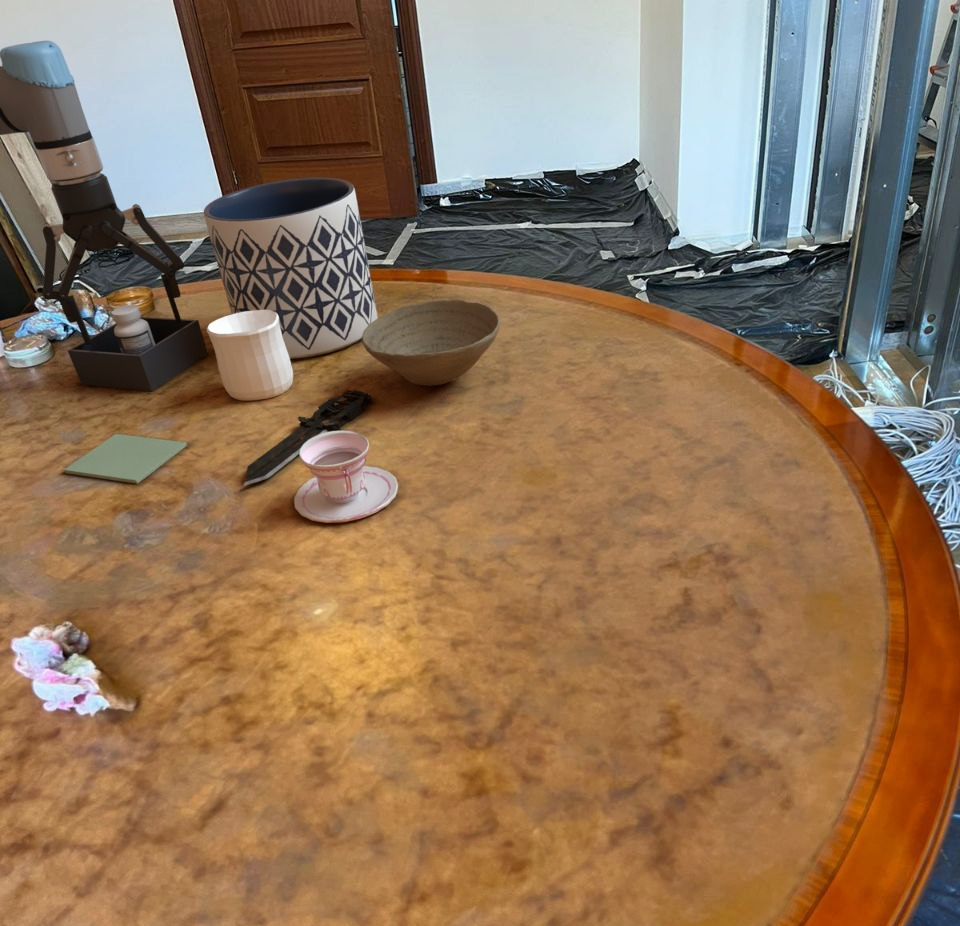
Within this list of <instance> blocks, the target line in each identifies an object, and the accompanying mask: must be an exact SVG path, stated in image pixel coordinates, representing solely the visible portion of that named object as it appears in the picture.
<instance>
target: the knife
mask: <svg viewBox="0 0 960 926" xmlns="http://www.w3.org/2000/svg"><path fill="white" fill-rule="evenodd" d="M342 398H343V399H344V400H341V399H342ZM372 401H373V399H372V394H369V393H368V392H365V391H363V390H359V389H352V390H344V391H343V392H342V393H341V394H339V395H337V396H335V397H331V398H328V399H327V400H325V401H324V402H322V404H320V405H318V407H317V408H318V409H316V410H314V412H313V414H312V415H311V417H305V416H298V417H297V420H298V422H300V423H299V427H298V428H297V429H295V430H294V431H293V432H292V433H290V434H289V435H287V436H286V437H285V438H283V439H281V441H279V442H278V443H277V444H275V445H274V446H273V447H272V448H270V449H269V450H267V451H266V452H265V453H263V454H262V455H261V456H259V457H258V458H257V459H255V460H254V461H252V463H250V464H248V465H247V467H246V473H245V479H247V480H245V481H244V483H243V485H242V486H243V487H245V486H249V485H251V484H254V483H258V482H261V481H263V480H267V479H270V477H272V476H273V475H274V474H276V473H277V472H278V471H279V470H280V469H282V468H283V467H284V466H285V465H287V464H288V463H289V462H291V461H292V460H294V459H295V458H296V457H297V456H298V455H299V452H300V449H301V447H302V446H303V444H304V443H305V442H307V441H308V440H309V439H311V438H313V437H315V436H317V435H319V434H322V433H326V432H331V431H340V430H342V429H341V428H340V427H342V426H344V425H345V424H347V423H348V422H352V421H353V420H355V419H356V418H357V417H358V416H360V415H361V414H362V413H363V412H364V411H365V408H366V406H367V405H368V404H370V403H371V402H372ZM344 405H345V406H344ZM331 417H332V418H331ZM327 418H331V419H330V420H328V421H325V422H323V421H324V420H326V419H327ZM339 419H341V420H340V421H337V420H339Z"/></svg>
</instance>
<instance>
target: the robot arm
mask: <svg viewBox="0 0 960 926" xmlns="http://www.w3.org/2000/svg"><path fill="white" fill-rule="evenodd" d="M0 62H1V65H0V136H4V135H12V134H20V133H21V134H22V133H29V136H30V138H31V141H32V142H33V145H34V148H35V151H36V153H37V156H38V159H39V161H40V164H41V165H42V169H43V171H44V174H45V176H46V179H47V180H48V181H50V182H52V184H51V187H50V189H51V191H52V195H53V197H54V199H55V202H56V205H57V207H58V210H59V213H60V216H61V218H62V223H60V224H59V223H58V224H50V223H49V222H46V223H45V222H44V223H43V224H42V233H43V237H44V240H45V254H44V255H45V256H44V268H43V269H44V271H43V282H42V283H43V284H42V297H43V299H45V300H46V301H50V300H53V301H57V302H59V304H60V306H61V308H62V311H63V313H64V315H65V318H66V320H67V322H69V324H72V323H76V324H77V326H78V329H79V331H80V334H81V336H82V339H83V341H85V344H86V345H89V344H91V339H90V337H91V336H90V334H89V331H88V329H87V327H86V324H85V321H84V319H83V317H82V314H81V312H80V309H79V307H78V304H77V301H76V299H75V295H73V294H71V295H69V294H70V291H71V290H72V289H71V288H72V286H73V283H74V281H75V278H76V275H77V273H78V270H79V268H80V264H81V262H82V259H83V258H84V255H85V252H86V251H88V252H91V253H98V252H100V251H102V250H112V249H115V248H116V247H117V246H118V245H119V244H120V245H121V246H122V247H124V248H126V249H128V250H130V251H131V252H132V253H133V254H136V255H137V256H138V257H139V258H141V259H142V260H144V261H145V262H147V263H148V264H150V265H151V266H152V267H154V268H155V269H156V270H158V271H159V272H161V273H162V274H160V278H161V281H162V284H163V287H164V290H165V293H166V296H167V299H168V302H169V305H170V308H171V311H172V313H173V317H174V319H176V322H177V323H179V322H182V321H181V319H182V318H181V315H180V312H179V310H178V306H177V302H176V300H175V299H178V298H180V297H181V291H180V287H179V284H178V281H177V279H176V273H177V272H179V271H180V270H183V269H184V268H185V264H184V261H183V259H182V258H181V257H180V255H179V254H177V252H176V251H175V250H174V249H173V247H172V246H171V245H170V244H169V243H168V242H167V240H165V238H164V237H163V236H161V234H160V233H159V232H158V231H157V230H156V229H155V227H154V226H152V224H151V223H150V222H149V221H148V220H147V218H146V216H145V214H144V212H143V210H142V207H141V206H140V205H139V204H137V203H135V204H133V205H132V207H130V208H127V209H124V210H122V209H120V207H118V205H117V202H116V199H115V197H114V193H113V190H112V188H111V185H110V182H109V179H108V177H107V176H106V175H105V174H104V173H102V171H103V169H104V165H103V162H102V159H101V156H100V154H99V151H98V148H97V145H96V142H95V140H94V136H93V135H92V132H91V129H90V127H89V125H88V122H87V119H86V116H85V113H84V110H83V105H82V104H81V100H80V97H79V94H78V91H77V87H76V84H75V79H74V76H73V75H72V74H71V71H70V69H69V67H68V64H67V61H66V59H65V57H64V53H63V51H62V49H61V47H60V46H59V45H58V44H57V43H56V42H54V41H52V40H39V41H32V42H24V43H20V44H14V45H10V46H9V45H8V46H6V47H3V48H1V49H0ZM126 220H127V221H130V222H131V223H132V224H133V225H135V226H136V225H138V226H139V227H140V228H141V230H142V231H143V232H144V234H146V236H147V237H148V238H149V239H150V240H151V241H152V242H153V243H154V244H155V246H156V247H157V248H158V249H159V250H160V251H161V252H162V253H163V254H164V255H165V256H166V258H167V259H168V260H169V261H170V262H168V263H167V262H166V261H165V260H163V259H162V258H160V257H159V256H158V255H157V254H155V253H153V252H152V251H151V250H149V249H148V248H147V247H145V246H144V245H142V244H141V243H140V242H138V241H137V240H135V239H134V238H133V237H131V236H130V235H129V234H127V233H126V232H125V231H123V230H124V227H125V223H126ZM63 234H65V235H66V236H68V238H69V239H72V240H73V241H74V245H73V247H72V251H71V253H70V256H69V258H68V261H67V264H66V267H65V270H64V273H63V275H62V277H61V278H62V279H61V281H60V283H59V286H58V288H54V280H55V269H56V268H55V266H56V256H57V255H56V254H57V244H56V243H59V242H60V241H61V239H62V238H61V237H62V235H63Z"/></svg>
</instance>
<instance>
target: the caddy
mask: <svg viewBox="0 0 960 926" xmlns="http://www.w3.org/2000/svg"><path fill="white" fill-rule="evenodd" d="M140 319H143V320H145V321H146V322H147V323H148V324H149V327H150V330H151V333H152V336H153V339H154V341H155V344H156V345H154V346H152V347H151V348H149V349H148V350H146V351H144V352H143V353H141V354H140V355H135V354H123V353H121V350H120V347H119V345H118V342H117V339H116V337H115V334H114V328H115V326H116V325H117V323H115V322H114V324H112V325H110V326H107V328H104V329H103V330H101V331H99V332H97V333H95V334H94V335H92V336H90V339H91V344H89V345H86V344H85V341H84V340H83V341H81V342H80V343H77V344H76V345H74V346H73V347H70V348H69V349H67V353H68V355H69V358H70V360H71V363H72V365H73V368H74V370H75V373H76V375H77V377H78V380H79V383H80V385H84V386H92V387H103V388H113V389H114V388H115V389H122V390H123V389H124V390H125V389H126V390H133V391H134V390H135V391H145V392H153V391H155V390H156V389H157V388H160V387H161V386H163V385H164V384H166V383H167V382H168V381H170V380H172V379H173V378H174V377H176V376H177V375H179V374H180V373H182V372H183V371H185V370H187V369H188V368H190V366H192V365H194V364H195V363H197V362H198V361H199V360H201V359H203V358H204V357H206V356H208V355H209V351H208V348H207V345H206V341H205V338H204V334H203V331H202V328H201V325H200V322H199V319H189V318H187V319H185V318H181V321H182V322H179V323H177V322H176V319H175V318H171V317H169V318H168V317H155V316H153V317H151V316H141V317H140Z"/></svg>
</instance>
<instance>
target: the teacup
mask: <svg viewBox="0 0 960 926" xmlns="http://www.w3.org/2000/svg"><path fill="white" fill-rule="evenodd" d="M369 451H370V443H369V440H368V438H367V437H365V436H364V435H362V434H361V433H359V432H357V431H353V430H343V429H341V430H340V431H331V432H326V433H322V434H319V435H317V436H315V437H313V438H311V439H309V440H308V441H307V442H305V443H304V444H303V446H302V447H301V449H300V452H299V454H298V455H299V460H300V463H301V464H302V465H303V466H304V467H305V468H307V469H309V471H310V473H311V474H312V475H313V476H314V477H313V478H311V479H309V480H307V481H305V483H304V484H303V485H301V487H299V488H298V489H297V492H296V493H295V495H294V498H293V502H294V508H295V510H296V511H297V512H298V513H299V515H300V516H302V517H304V518H306V519H308V520H311V521H313V522H320V523H327V524H328V523H329V524H332V523H346V522H347V523H348V522H350V521H351V522H352V521H355V520H356V521H357V520H360V519H363V518H366V517H369V516H371V515H373V514H375V513H376V514H377V512H379V511H381V510H382V509H384V508H385V507H388V506H389V505H390V503H391V502H392V501H394V499H395V498H396V496H397V493H398V490H399V484H398V480H397V478H396V476H394V475H393V474H392V472H390V471H388V470H386V469H382V468H380V467H376V466H368V465H366V463H367V458H366V457H367V455H368V454H369Z"/></svg>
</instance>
